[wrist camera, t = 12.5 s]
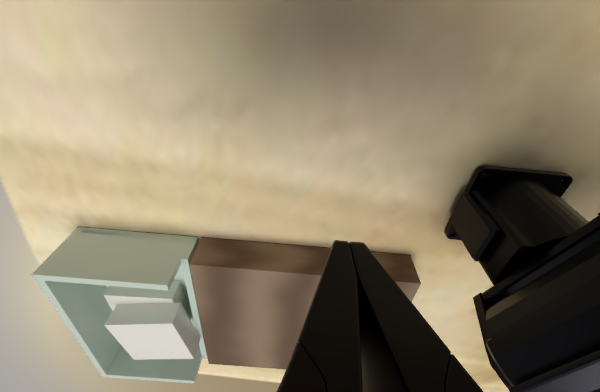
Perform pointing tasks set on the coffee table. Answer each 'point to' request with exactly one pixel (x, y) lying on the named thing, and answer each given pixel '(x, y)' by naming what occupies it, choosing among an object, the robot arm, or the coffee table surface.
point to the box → (123, 273)
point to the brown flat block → (265, 296)
